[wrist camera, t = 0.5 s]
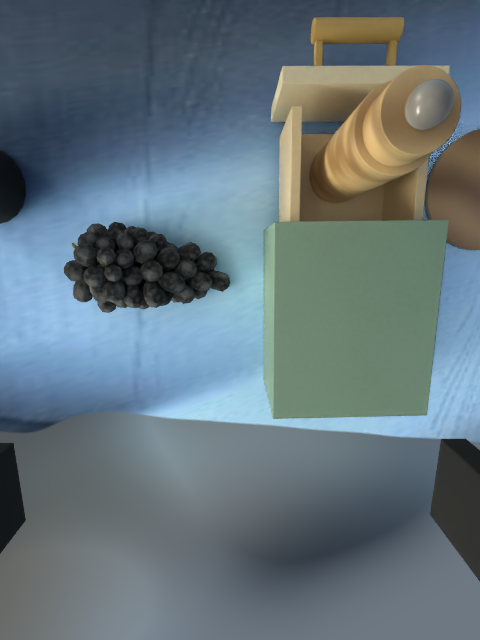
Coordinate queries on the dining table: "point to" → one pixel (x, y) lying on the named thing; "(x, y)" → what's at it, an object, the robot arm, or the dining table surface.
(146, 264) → the fruit
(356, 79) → the drawer
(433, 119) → the pepper mill
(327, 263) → the cabinet
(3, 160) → the wine bottle
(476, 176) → the cork coaster
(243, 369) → the dining table surface
